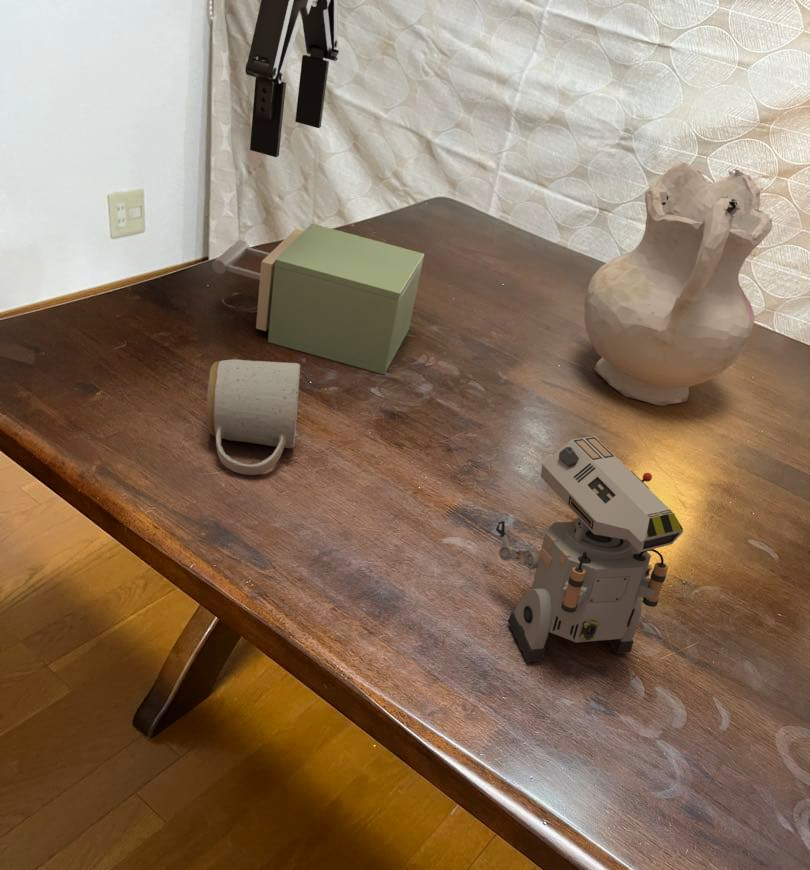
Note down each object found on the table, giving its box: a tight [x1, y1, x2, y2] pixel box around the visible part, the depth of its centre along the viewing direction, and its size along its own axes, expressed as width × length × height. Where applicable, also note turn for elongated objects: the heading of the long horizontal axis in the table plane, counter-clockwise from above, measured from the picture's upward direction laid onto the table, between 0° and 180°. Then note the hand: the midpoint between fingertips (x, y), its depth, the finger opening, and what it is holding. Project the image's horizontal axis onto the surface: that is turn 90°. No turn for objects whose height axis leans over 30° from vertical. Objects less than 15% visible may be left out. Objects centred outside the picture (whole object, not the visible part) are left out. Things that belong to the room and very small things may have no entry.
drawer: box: [211, 228, 305, 332], centre depth 98 cm, size 19×11×8 cm, turn 77°
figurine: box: [495, 435, 684, 662], centre depth 64 cm, size 9×12×15 cm
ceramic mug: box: [205, 359, 301, 476], centre depth 78 cm, size 11×8×8 cm
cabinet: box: [267, 223, 425, 375], centre depth 98 cm, size 14×13×10 cm
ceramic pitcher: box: [583, 161, 773, 407], centre depth 98 cm, size 22×20×25 cm
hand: (287, 138), depth 89 cm, fingers open, 13 cm apart
